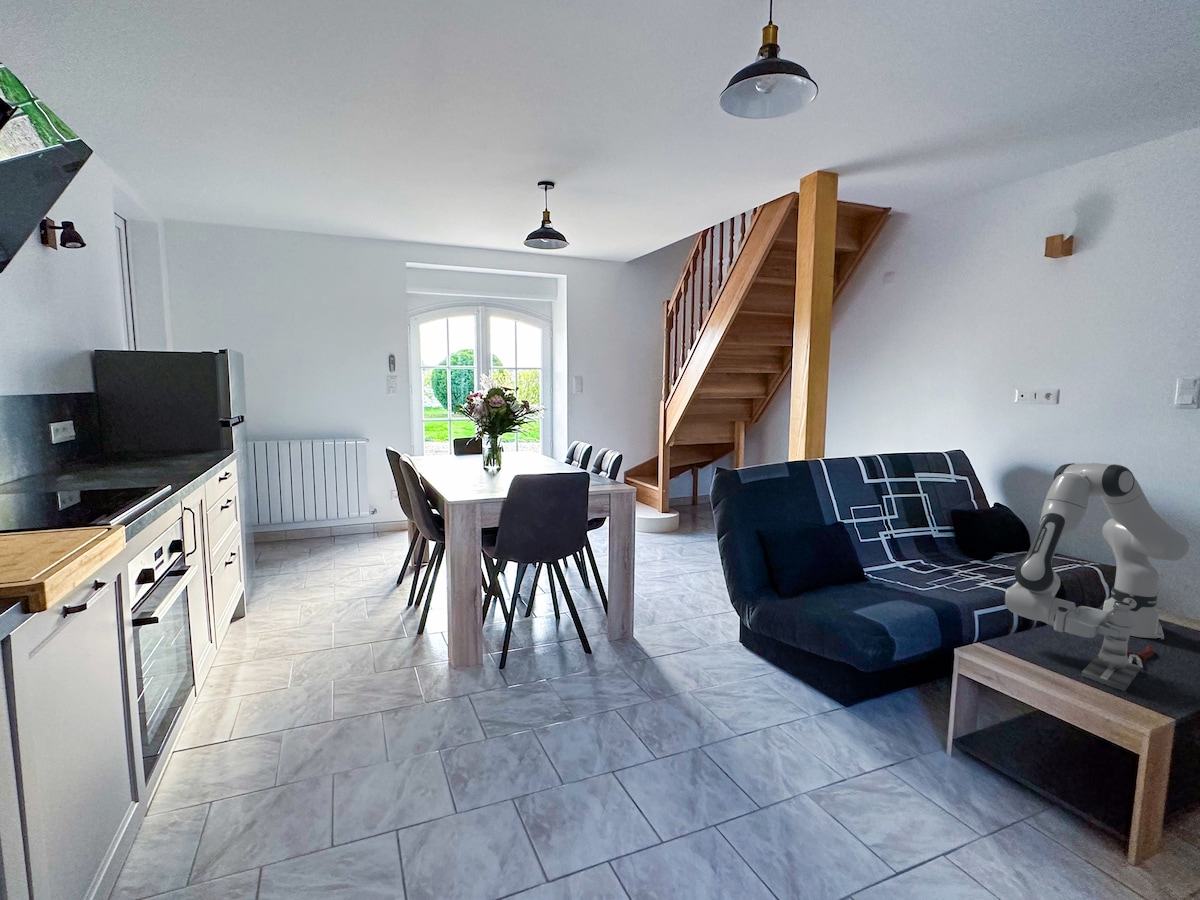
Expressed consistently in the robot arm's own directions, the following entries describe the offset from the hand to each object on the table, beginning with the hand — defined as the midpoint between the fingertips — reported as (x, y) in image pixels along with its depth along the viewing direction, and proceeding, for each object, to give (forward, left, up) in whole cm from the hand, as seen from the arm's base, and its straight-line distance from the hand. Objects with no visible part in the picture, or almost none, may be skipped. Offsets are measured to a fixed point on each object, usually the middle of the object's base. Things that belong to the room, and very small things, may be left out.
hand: (1121, 630), depth 177 cm
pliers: (-21, -1, -15) cm, 26 cm away
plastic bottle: (0, -1, -12) cm, 12 cm away
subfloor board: (0, -1, -14) cm, 14 cm away
